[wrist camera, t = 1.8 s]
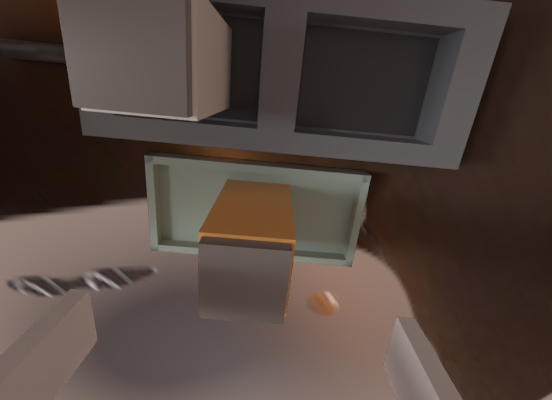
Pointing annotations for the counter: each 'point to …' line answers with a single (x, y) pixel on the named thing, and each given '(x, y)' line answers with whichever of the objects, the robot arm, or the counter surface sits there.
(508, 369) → the counter surface
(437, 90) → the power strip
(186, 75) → the cream plug
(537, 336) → the counter surface
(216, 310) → the orange plug
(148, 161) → the tray
